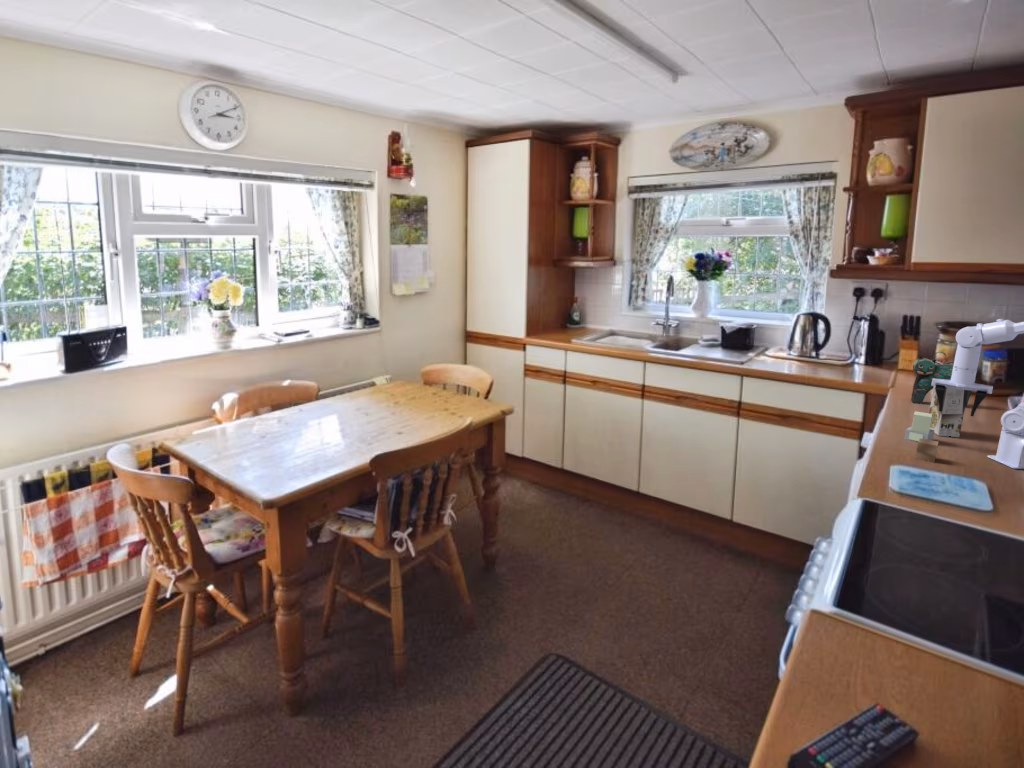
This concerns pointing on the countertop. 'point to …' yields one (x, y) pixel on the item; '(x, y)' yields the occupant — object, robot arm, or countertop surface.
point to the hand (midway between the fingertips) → (956, 413)
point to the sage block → (921, 422)
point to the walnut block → (926, 450)
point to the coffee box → (948, 412)
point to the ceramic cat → (929, 377)
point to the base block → (918, 434)
